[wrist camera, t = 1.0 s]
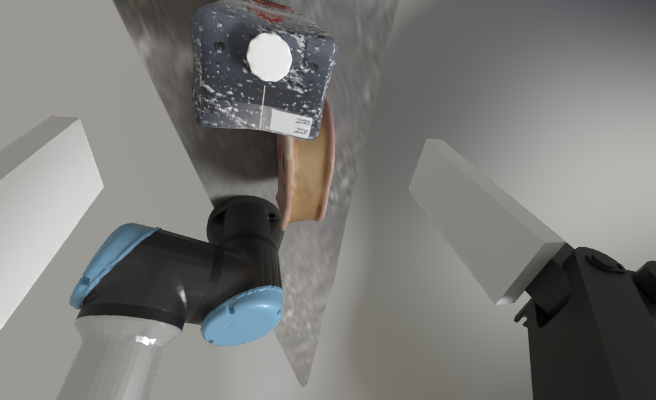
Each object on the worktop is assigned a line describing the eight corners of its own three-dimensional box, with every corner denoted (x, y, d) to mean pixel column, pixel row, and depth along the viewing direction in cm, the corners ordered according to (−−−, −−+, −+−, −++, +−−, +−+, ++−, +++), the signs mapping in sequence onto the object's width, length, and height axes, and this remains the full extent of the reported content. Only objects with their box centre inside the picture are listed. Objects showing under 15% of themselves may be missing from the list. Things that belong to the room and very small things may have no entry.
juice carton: (290, 76, 45) (325, 159, 23) (217, 61, 41) (182, 141, 20) (301, 9, 40) (357, 36, 19) (219, -14, 37) (176, -12, 15)
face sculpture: (272, 75, 44) (281, 114, 31) (316, 78, 46) (342, 116, 33) (273, 185, 56) (280, 247, 43) (308, 184, 57) (325, 243, 44)
